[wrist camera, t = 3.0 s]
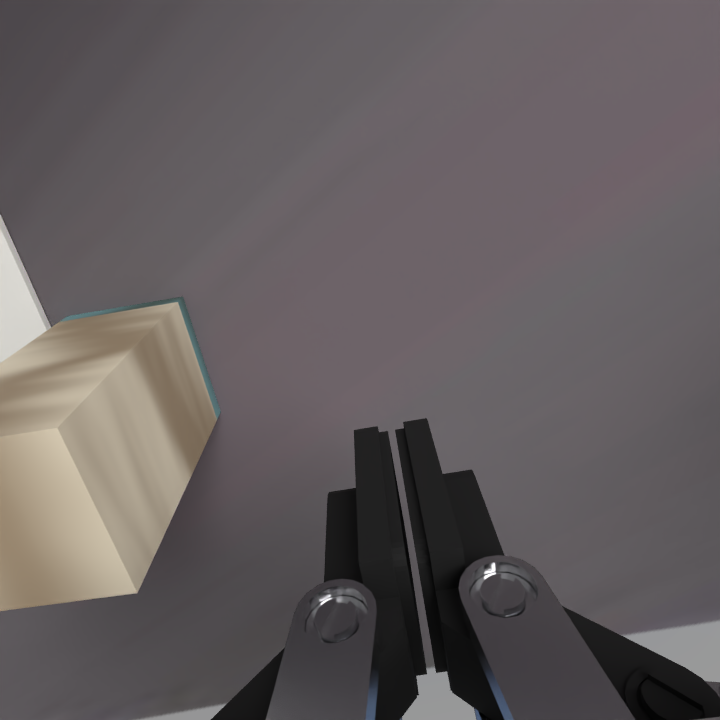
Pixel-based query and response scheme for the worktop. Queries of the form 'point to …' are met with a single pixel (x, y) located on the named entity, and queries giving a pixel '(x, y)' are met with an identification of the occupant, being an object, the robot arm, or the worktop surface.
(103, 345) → the tall block
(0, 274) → the mat
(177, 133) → the worktop surface
